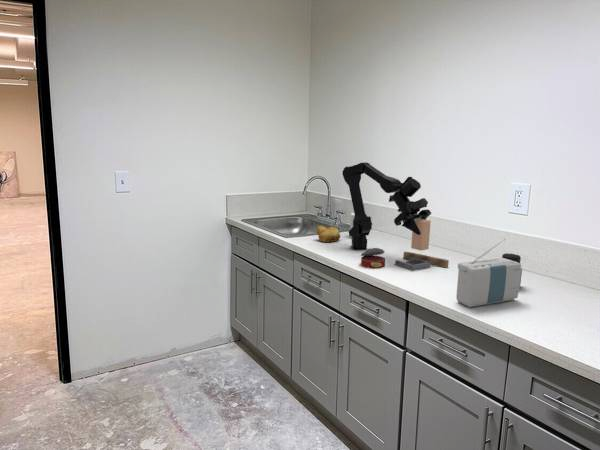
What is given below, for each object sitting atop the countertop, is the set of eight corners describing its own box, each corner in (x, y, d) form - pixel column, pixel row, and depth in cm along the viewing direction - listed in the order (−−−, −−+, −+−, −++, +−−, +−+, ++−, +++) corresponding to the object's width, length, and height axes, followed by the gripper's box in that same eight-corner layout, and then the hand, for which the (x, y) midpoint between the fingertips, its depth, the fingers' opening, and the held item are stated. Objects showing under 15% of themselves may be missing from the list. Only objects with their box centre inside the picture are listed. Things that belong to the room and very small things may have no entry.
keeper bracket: (394, 264, 197) (394, 260, 197) (411, 261, 203) (412, 257, 202) (412, 270, 188) (412, 266, 188) (430, 267, 194) (430, 262, 194)
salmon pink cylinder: (411, 248, 197) (413, 219, 195) (418, 246, 200) (420, 218, 198) (421, 250, 193) (423, 221, 191) (428, 248, 197) (430, 220, 194)
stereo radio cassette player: (470, 310, 147) (476, 247, 143) (452, 301, 154) (457, 242, 150) (519, 301, 155) (525, 242, 152) (499, 293, 163) (505, 237, 159)
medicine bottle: (517, 290, 166) (521, 257, 164) (496, 287, 170) (499, 254, 168) (520, 285, 172) (523, 253, 170) (499, 282, 176) (502, 250, 174)
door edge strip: (403, 258, 207) (403, 252, 206) (405, 257, 208) (406, 251, 208) (445, 268, 193) (446, 260, 193) (448, 267, 195) (448, 260, 194)
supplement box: (365, 239, 245) (366, 215, 243) (350, 238, 245) (351, 214, 243) (363, 236, 252) (364, 212, 250) (349, 235, 252) (350, 212, 250)
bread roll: (335, 238, 246) (336, 223, 245) (345, 241, 238) (346, 226, 236) (314, 240, 241) (314, 224, 239) (323, 244, 232) (324, 228, 231)
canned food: (362, 277, 194) (351, 256, 194) (370, 269, 203) (360, 248, 202) (386, 269, 188) (375, 246, 188) (393, 260, 197) (383, 239, 196)
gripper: (401, 193, 190) (422, 224, 183) (429, 190, 201) (449, 220, 195) (385, 209, 197) (404, 240, 191) (412, 206, 209) (432, 235, 203)
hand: (423, 233), depth 195 cm, fingers closed on salmon pink cylinder, 5 cm apart
